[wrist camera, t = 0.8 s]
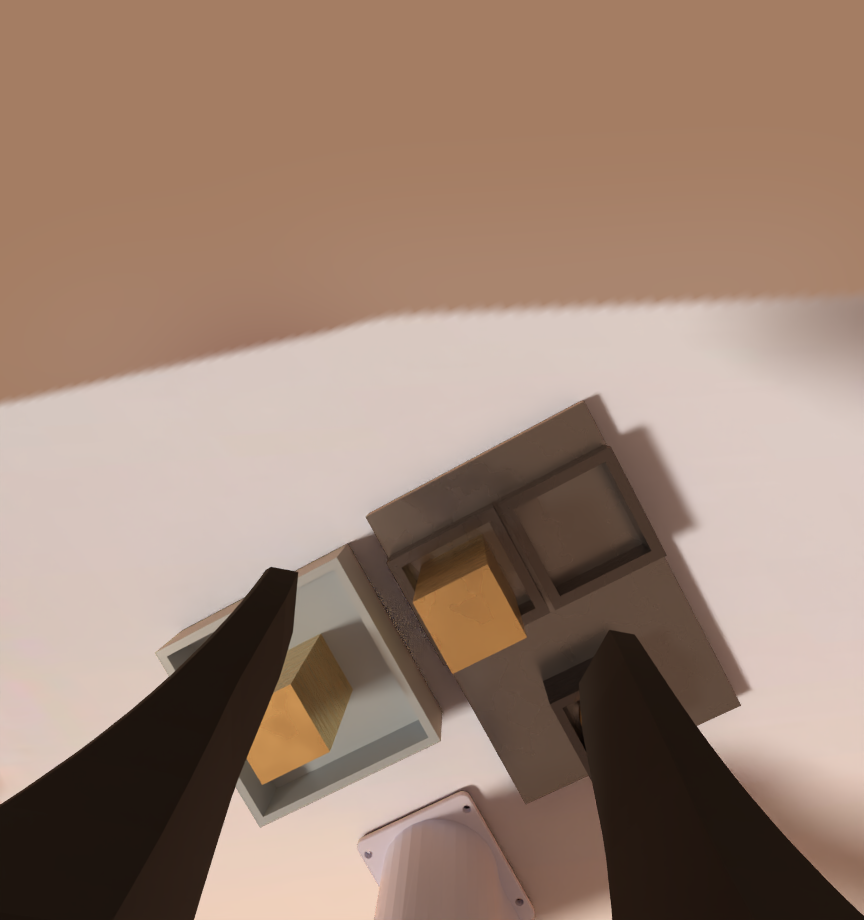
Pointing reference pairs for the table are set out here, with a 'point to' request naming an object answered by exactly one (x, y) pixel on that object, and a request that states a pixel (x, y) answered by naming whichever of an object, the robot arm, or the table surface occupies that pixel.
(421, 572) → the billet
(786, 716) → the table surface
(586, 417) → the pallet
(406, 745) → the tote
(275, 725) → the billet
